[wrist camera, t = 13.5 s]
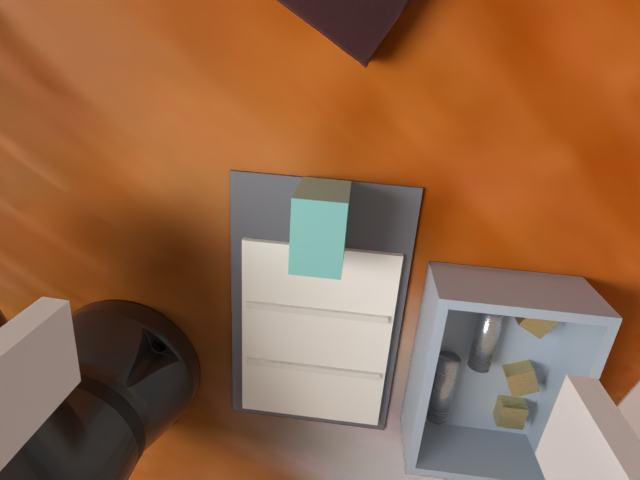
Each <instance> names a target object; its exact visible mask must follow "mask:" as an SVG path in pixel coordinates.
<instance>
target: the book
mask: <svg viewBox="0 0 640 480" xmlns="http://www.w3.org/2000/svg"><path fill="white" fill-rule="evenodd" d="M277 1H278V2H280V3H281V4H282V5H284V6H285V7H286V8H288V9H289V10H290V11H292V12H293V13H294V14H296V15H297V16H299V17H300V18H301V19H303V20H304V21H305V22H307V23H308V24H309V25H311V26H312V27H313V28H315V29H316V30H317V31H319V32H320V33H322V34H323V35H324V36H325V37H327V38H328V39H329V40H331V41H332V42H333V43H334V44H336V45H337V46H338V47H340V48H341V49H342V50H343V51H345V52H346V53H348V54H349V55H350V56H352V57H353V58H355V59H356V60H357V61H359V62H360V63H361V64H362V65H363V66H364V67H367V65H368V63H369V61H370V59H371V58H372V56H373V55H374V54H375V52H376V51H377V49H378V48H379V46H380V45H381V43H382V42H383V40H384V39H385V37H386V36H387V34H388V32H389V31H390V29H391V28H392V26H393V25H394V23H395V22H396V20H397V19H398V18H399V16H400V15H401V13H402V12H403V10H404V9H405V7H406V6H407V4H408V3H409V1H410V0H277Z"/></svg>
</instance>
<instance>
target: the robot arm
mask: <svg viewBox="0 0 640 480" xmlns="http://www.w3.org/2000/svg"><path fill="white" fill-rule="evenodd" d="M199 381H200V368H199V363H198V359H197V356H196V353H195V351H194V349H193V347H192V345H191V344H190V342H189V341H188V339H187V338H186V336H185V335H184V334H183V333H182V332H181V331H180V330H179V329H178V328H177V327H176V326H175V325H174V324H173V323H172V322H171V321H169V320H168V319H167V318H165V317H164V316H162V315H161V314H159V313H157V312H155V311H153V310H151V309H149V308H147V307H144V306H142V305H139V304H135V303H131V302H127V301H118V300H106V301H99V302H94V303H91V304H88V305H86V306H84V307H82V308H80V309H78V310H77V311H76V312H74V313H73V314H72V315H71V309H70V302H69V300H62V299H56V298H49V297H41V298H40V299H38V300H37V301H36V302H34V303H33V304H32V305H30V306H29V307H28V308H26V309H25V310H23V311H22V312H21V313H19V314H18V315H17V316H15V317H14V318H13V319H11V320H10V321H7V319H6V318H5V316H4V315H3V313H2V312H1V310H0V480H128V479H129V477H130V475H131V473H132V471H133V470H134V468H135V466H136V464H137V462H138V460H139V459H140V457H141V455H142V454H143V452H144V451H145V450H146V449H147V448H148V447H149V446H150V445H151V444H152V443H153V442H155V441H156V440H157V439H158V438H159V437H160V436H161V435H162V434H163V433H164V432H165V431H167V430H168V429H169V428H170V427H171V426H172V425H173V424H175V423H176V422H177V421H178V420H179V419H180V418H181V417H182V416H183V415H184V413H185V412H186V411H187V409H188V407H189V405H190V404H191V402H192V400H193V398H194V396H195V394H196V392H197V389H198V386H199ZM535 455H536V458H537V460H538V463H539V465H540V468H541V470H542V473H543V475H544V478H545V480H640V440H639V438H638V437H637V435H636V434H635V433H634V431H633V430H632V428H631V427H630V425H629V424H628V422H627V421H626V419H625V418H624V417H623V415H622V414H621V412H620V411H619V409H618V408H617V406H616V405H615V403H614V402H613V400H612V399H611V398H610V396H609V395H608V393H607V392H606V390H605V389H604V387H603V386H602V384H601V383H600V381H599V380H598V379H594V378H587V377H581V376H574V375H567V374H566V377H565V379H564V382H563V384H562V387H561V389H560V392H559V395H558V397H557V400H556V402H555V405H554V407H553V410H552V412H551V415H550V417H549V420H548V422H547V425H546V427H545V430H544V432H543V435H542V437H541V440H540V442H539V445H538V447H537V450H536V452H535Z"/></svg>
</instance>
